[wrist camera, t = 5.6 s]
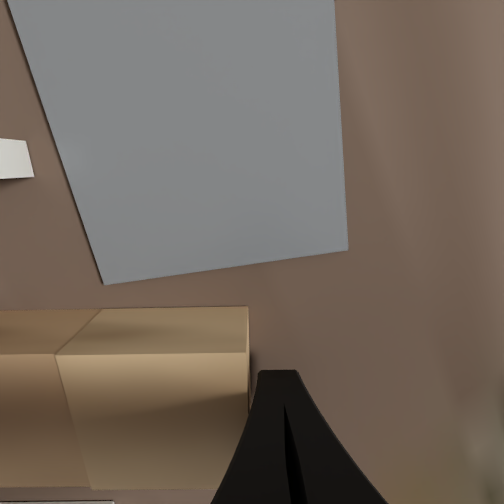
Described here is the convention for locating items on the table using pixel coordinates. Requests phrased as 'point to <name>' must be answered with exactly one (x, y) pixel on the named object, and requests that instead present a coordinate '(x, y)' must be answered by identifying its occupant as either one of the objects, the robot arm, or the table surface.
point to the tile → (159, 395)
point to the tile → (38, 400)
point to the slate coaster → (193, 128)
